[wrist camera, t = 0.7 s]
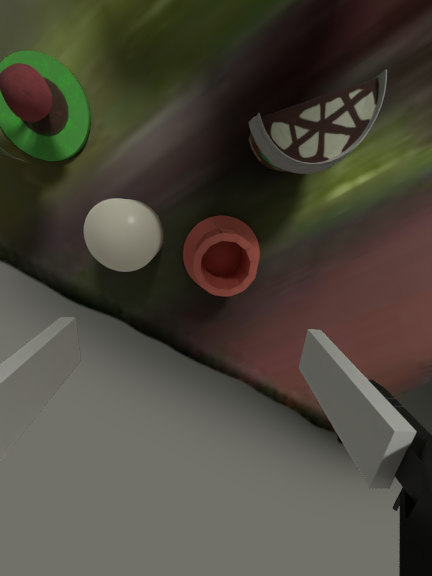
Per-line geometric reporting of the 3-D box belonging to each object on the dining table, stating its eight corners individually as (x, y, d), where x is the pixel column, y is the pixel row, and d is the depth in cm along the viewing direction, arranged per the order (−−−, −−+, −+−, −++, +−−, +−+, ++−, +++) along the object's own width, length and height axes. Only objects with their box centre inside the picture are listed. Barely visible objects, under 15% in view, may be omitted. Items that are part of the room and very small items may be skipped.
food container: (248, 193, 32) (267, 188, 22) (236, 143, 30) (252, 114, 20) (337, 165, 31) (396, 147, 22) (331, 112, 29) (393, 67, 20)
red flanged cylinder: (186, 210, 32) (182, 211, 26) (264, 220, 33) (280, 224, 27) (180, 286, 36) (175, 304, 29) (251, 293, 37) (262, 312, 30)
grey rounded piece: (107, 196, 31) (81, 193, 24) (168, 204, 32) (159, 203, 25) (108, 255, 34) (85, 267, 27) (165, 261, 34) (156, 275, 28)
